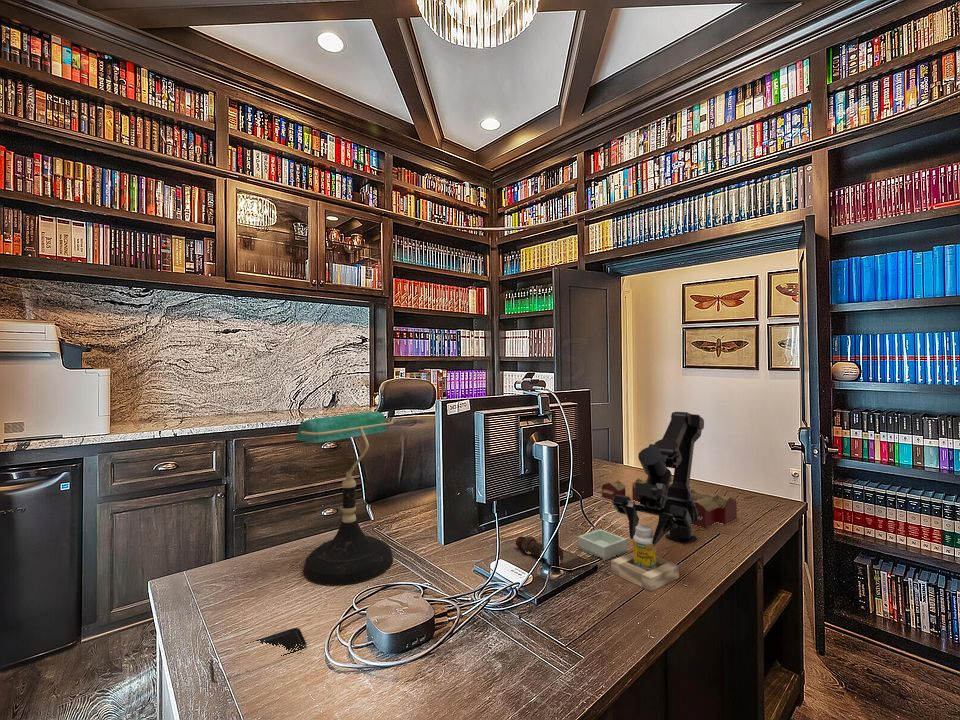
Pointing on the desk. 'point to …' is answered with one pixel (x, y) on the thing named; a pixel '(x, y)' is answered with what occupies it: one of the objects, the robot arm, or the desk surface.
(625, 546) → the tray
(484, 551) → the desk surface
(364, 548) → the banker's lamp
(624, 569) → the socket block
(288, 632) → the phone
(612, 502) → the robot arm
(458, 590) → the desk surface
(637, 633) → the desk surface
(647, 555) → the supplement bottle
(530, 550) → the brown long lumpy piece
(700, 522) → the toy houses
